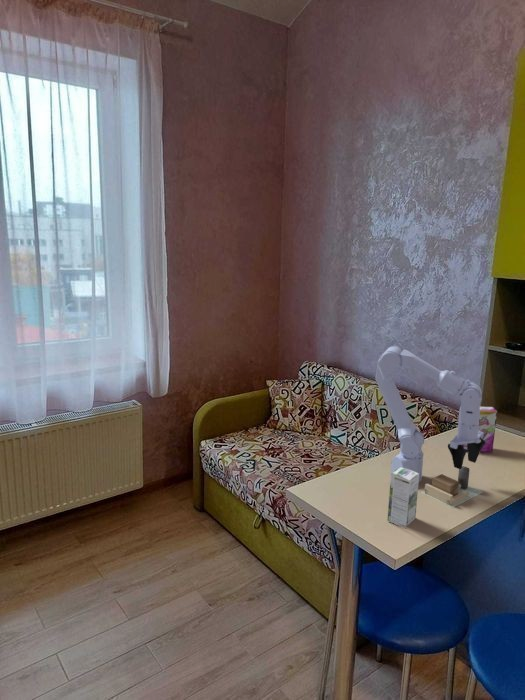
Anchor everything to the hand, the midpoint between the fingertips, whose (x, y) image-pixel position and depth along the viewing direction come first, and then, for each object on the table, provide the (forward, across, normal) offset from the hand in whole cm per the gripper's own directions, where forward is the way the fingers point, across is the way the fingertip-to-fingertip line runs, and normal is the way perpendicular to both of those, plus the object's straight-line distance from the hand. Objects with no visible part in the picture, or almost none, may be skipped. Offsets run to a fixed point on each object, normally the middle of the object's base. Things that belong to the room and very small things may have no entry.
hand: (464, 464), depth 150 cm
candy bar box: (+9, +31, +15) cm, 36 cm away
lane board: (+8, -6, 0) cm, 10 cm away
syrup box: (+9, -30, -1) cm, 31 cm away
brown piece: (+7, -5, 0) cm, 9 cm away
